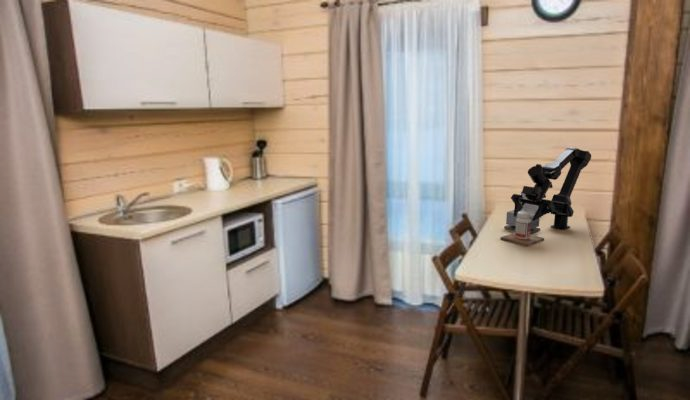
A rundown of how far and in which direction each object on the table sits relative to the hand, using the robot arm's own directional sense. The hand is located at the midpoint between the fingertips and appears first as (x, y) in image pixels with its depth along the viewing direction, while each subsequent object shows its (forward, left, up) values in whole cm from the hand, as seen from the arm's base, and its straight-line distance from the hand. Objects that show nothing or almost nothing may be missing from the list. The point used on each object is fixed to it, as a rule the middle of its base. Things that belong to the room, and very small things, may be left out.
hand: (523, 218), depth 199 cm
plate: (0, 0, -10) cm, 10 cm away
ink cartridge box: (-40, -21, -10) cm, 46 cm away
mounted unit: (-14, -9, -10) cm, 19 cm away
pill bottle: (0, 0, -9) cm, 9 cm away
